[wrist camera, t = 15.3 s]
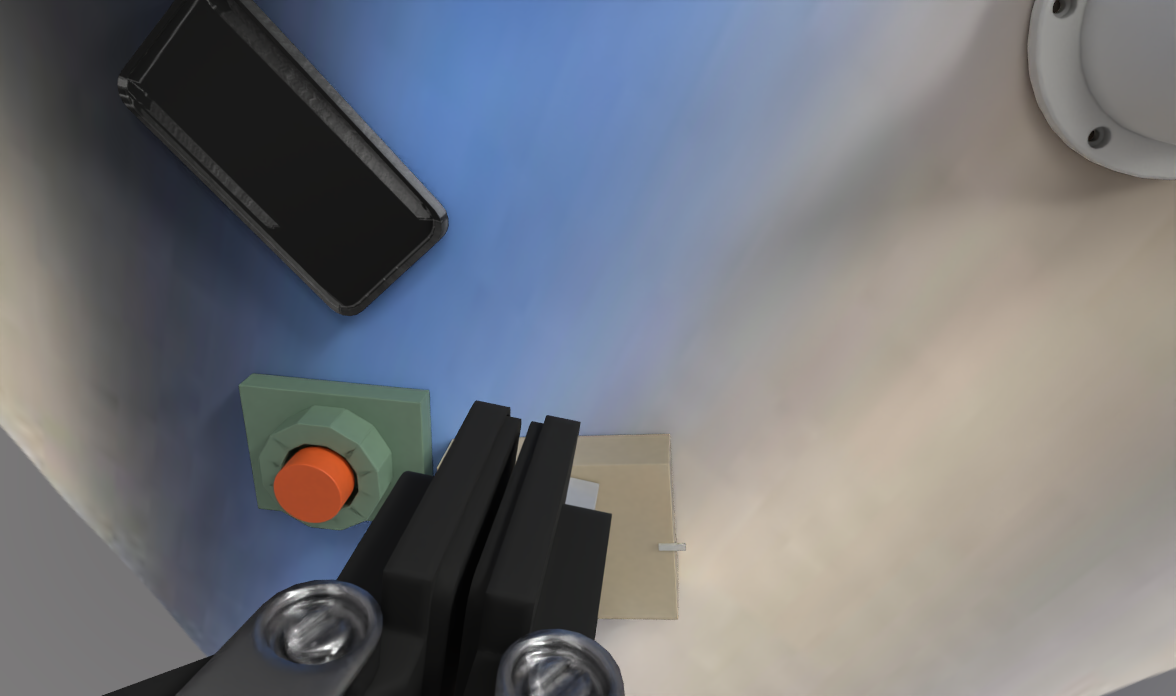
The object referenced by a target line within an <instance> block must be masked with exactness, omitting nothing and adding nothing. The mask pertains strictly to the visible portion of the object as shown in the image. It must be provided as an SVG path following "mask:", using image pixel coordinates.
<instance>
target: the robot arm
mask: <svg viewBox="0 0 1176 696" xmlns="http://www.w3.org/2000/svg"><path fill="white" fill-rule="evenodd" d="M1054 2H1055V0H1035V3H1034V6H1033V10H1032V13H1031V19H1030V27H1029V35H1028V43H1027V51H1028V65H1029V77H1030V81H1031V84H1032V87H1033V91H1034V94H1035V98H1036V101H1037V104H1038V106H1039V108H1040V110H1041V111H1042V113H1043V115H1044V117H1045V118H1046V120H1047V122H1048V124H1049V126H1050V127H1051V128H1052V129H1053V131H1054V132H1055V133H1056V134H1057V135H1058V136H1059V137H1060V138H1061V139H1062V140H1063V141H1064V142H1065V144H1066V145H1067V146H1068V147H1070V148H1071V149H1073V150H1074V151H1076V152H1077V153H1079V154H1080V155H1082V156H1083V157H1085V158H1086V159H1088V160H1089V161H1091V162H1093V163H1096V164H1098V165H1101V166H1103V167H1106V168H1108V169H1110V170H1113V171H1116V172H1120V173H1124V174H1128V175H1131V176H1135V177H1139V178H1148V179H1163V180H1176V0H1059V2H1060V8H1059V10H1058V11H1057V12H1056V13H1053V4H1054ZM1093 130H1094V131H1095V134H1094V136H1093V138H1092V139H1090V140H1088V136H1089V135H1090V133H1091V131H1093ZM579 429H580V422H578V421H573V420H568V419H564V418H559V417H554V416H549V415H547V416H546V418H545V421H544V424H543V423H538V422H533V421H532V422H531V424H530V426H529V429H528V432H527V434H526V437H525V440H524V442H523V445H522V448H521V450H520V453H519V456H518V458H517V461H516V456H517V450H518V443H519V436H520V430H521V419H519V418H514V417H510V407H506V406H501V405H496V404H491V403H486V402H482V401H475V402H474V404H473V405H472V407H471V409H470V411H469V413H468V415H467V416H466V418H465V420H464V422H463V424H462V426H461V428H460V429H459V431H458V433H457V435H456V437H455V439H454V441H453V442H452V444H451V446H450V448H449V450H448V452H447V453H446V455H445V457H444V459H443V461H442V463H441V465H440V466H439V468H438V470H437V472H436V474H435V476H431V475H426V474H422V473H417V472H412V471H405V472H403V474H402V475H401V476H400V477H399V479H398V481H397V482H396V484H395V486H394V487H393V489H392V490H391V492H390V494H389V495H388V497H387V499H386V500H385V502H384V503H383V505H382V507H381V508H380V510H379V512H378V513H377V515H376V516H375V518H374V520H373V521H372V523H371V525H370V526H369V528H368V529H367V531H366V533H365V534H364V536H363V538H362V539H361V541H360V542H359V544H358V546H357V547H356V549H355V551H354V552H353V554H352V555H351V557H350V559H349V560H348V562H347V564H346V565H345V567H344V569H343V570H342V572H341V573H340V575H339V577H338V578H337V580H313V581H309V582H304V583H300V584H295V585H293V586H291V587H289V588H287V589H285V590H283V591H280V592H278V593H277V594H275V595H274V596H273V597H272V598H270V599H269V600H268V601H267V602H265V603H264V604H263V605H262V606H261V607H260V608H259V609H258V610H257V611H256V612H255V613H254V614H253V615H252V616H251V617H250V618H249V619H248V620H247V621H246V622H245V624H244V625H243V626H242V627H241V628H240V629H239V630H238V631H237V632H236V633H235V634H234V635H233V636H232V637H231V638H230V639H229V640H228V641H227V642H226V643H225V644H224V645H223V646H222V647H221V648H220V650H219V651H218V652H217V653H216V654H215V655H212V656H209V657H206V658H204V659H201V660H198V661H196V662H193V663H190V664H188V665H185V666H182V667H179V668H177V669H174V670H171V671H168V672H165V673H163V674H160V675H157V676H155V677H152V678H149V679H146V680H144V681H141V682H138V683H136V684H133V685H130V686H127V687H124V688H122V689H119V690H116V691H114V692H111V693H108V694H105V695H103V696H625V693H624V683H623V680H622V676H621V672H620V669H619V666H618V665H617V663H616V662H615V660H614V659H613V657H612V656H611V654H610V653H609V652H608V651H607V650H606V649H604V648H603V647H602V646H601V645H600V644H599V643H597V642H596V641H594V640H595V633H596V626H597V619H598V612H599V605H600V598H601V591H602V584H603V576H604V569H605V562H606V555H607V548H608V541H609V534H610V527H611V519H612V514H611V513H606V512H602V511H597V510H592V509H587V508H583V507H578V506H573V505H568V504H565V502H566V497H567V492H568V487H569V481H570V476H571V471H572V466H573V460H574V455H575V450H576V445H577V439H578V434H579ZM515 463H516V464H515Z"/></svg>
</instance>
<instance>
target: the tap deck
mask: <svg viewBox="0 0 1176 696" xmlns="http://www.w3.org/2000/svg"><path fill="white" fill-rule="evenodd" d="M524 440H525V437H519V443H518V450H517V456H516V461H517V458H518V456H519V453H520V450H521V448H522V445H523V442H524ZM453 441H454V439H452V441H451V443H450V444H449V446H448V448H447V450H446V452H445V454H444V455H443V457H442V459H441V461H440V463H439V465H438V466H437V470H438V468H439V466H440V465H441V463H442V461H443V459H444V457H445V455H446V453H447V452H448V450H449V448H450V446H451V444H452V442H453ZM515 464H516V463H515ZM570 477H572V478H577V479H581V480H586V481H590V482H595V483H599V491H598V496H597V502H596V508H595V510H597V511H602V512H606V513H611V514H612V519H611V527H610V534H609V541H608V548H607V555H606V562H605V569H604V576H603V584H602V591H601V598H600V605H599V612H598V619H664V620H677V619H678V596H679V581H678V563H677V551H686V544H685V543H676V528H675V510H674V492H673V475H672V457H671V439H670V434H642V435H598V436H578V439H577V445H576V450H575V455H574V460H573V466H572V471H571V476H570Z"/></svg>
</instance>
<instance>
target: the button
mask: <svg viewBox="0 0 1176 696" xmlns="http://www.w3.org/2000/svg"><path fill="white" fill-rule="evenodd" d="M354 485H355V478H354V474H353V471H352V469H351V467H350V465H349V464H348V462H347V461H346V460H345V459H344V458H343V457H342V456H341V455H339V454H338V453H336V452H334V451H333V450H330V449H328V448H324V447H319V446H311V447H306V448H303V449H301V450H299V451H298V452H296V453H295V454H294V455H293V456H292V458H291V459H290V460H289V461H288V462H287V463H286V464H285V465H284V467H283V468H282V469H281V470H280V471H279V472H278V474H277V475H276V477H275V480H274V493H275V496H276V499H277V501H278V502H279V504H280V505H281V507H282V508H283V509H284V510H285V511H286V512H287V513H289V514H290V515H292V516H293V517H295V518H297V519H299V520H302V521H305V522H310V523H321V522H325V521H328V520H330V519H332V518H333V517H335V516H336V515H337V513H338V512H339V511H340V509H341V508H342V506H343V505H344V504H345V502H346V501H347V499H348V498H349V496H350V495H351V493H352V492H353V489H354Z"/></svg>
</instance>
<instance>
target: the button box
mask: <svg viewBox="0 0 1176 696" xmlns="http://www.w3.org/2000/svg"><path fill="white" fill-rule="evenodd" d="M239 391H240V398H241V404H242V410H243V416H244V422H245V428H246V435H247V441H248V447H249V453H250V459H251V466H252V472H253V478H254V484H255V490H256V497H257V503H258V508H259V509H267V510H276V511H282V512H284V513H286V514H287V515H289V516H291V517H293V516H292V515H290V514H289V513H287V512H286V511H285V510H284V509H283V508H282V507H281V505H280V504H279V502H278V501H277V499H276V496H275V493H274V480H275V477H276V475H277V474H278V472H279V471H280V470H281V469H282V468H283V467H284V465H285V464H286V463H287V462H288V461H289V460H290V459H291V458H292V456H293V455H294V454H295V453H296V452H298V451H299V450H301V449H303V448H306V447H311V446H319V447H324V448H328V449H330V450H333V451H334V452H336V453H338V454H339V455H341V456H342V457H343V458H344V459H345V460H346V461H347V462H348V464H349V465H350V467H351V469H352V471H353V474H354V478H355V485H354V489H353V492H352V493H351V495H350V496H349V498H348V499H347V501H346V502H345V504H344V505H343V506H342V508H341V509H340V511H339V512H338V513H337V515H336V516H335V517H333V518H332V519H330V520H328V521H325V522H321V523H310V522H305V521H302V520H299V519H297V518H295V517H293V518H295V519H296V520H298V521H300V522H302V523H303V524H305V525H307V526H309V527H310V526H311V527H314V528H323V529H332V530H343V529H346V528H349V527H351V526H354V525H356V524H359V523H361V522H364V521H373V520H374V518H375V516H376V515H377V513H378V512H379V510H380V508H381V507H382V505H383V503H384V502H385V500H386V499H387V497H388V495H389V494H390V492H391V490H392V489H393V487H394V486H395V484H396V482H397V481H398V479H399V477H400V476H401V475H402V474H403V472H405V471H412V472H417V473H422V474H426V475H431V476H433V463H432V440H431V418H430V396H429V390H420V389H409V388H399V387H388V386H378V385H368V384H357V383H347V382H336V381H326V380H316V379H305V378H295V377H284V376H274V375H264V374H252V375H250V376H249V377H248V378H247V379H245V380H244V381H243V382H242V383H241V384H239Z"/></svg>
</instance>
